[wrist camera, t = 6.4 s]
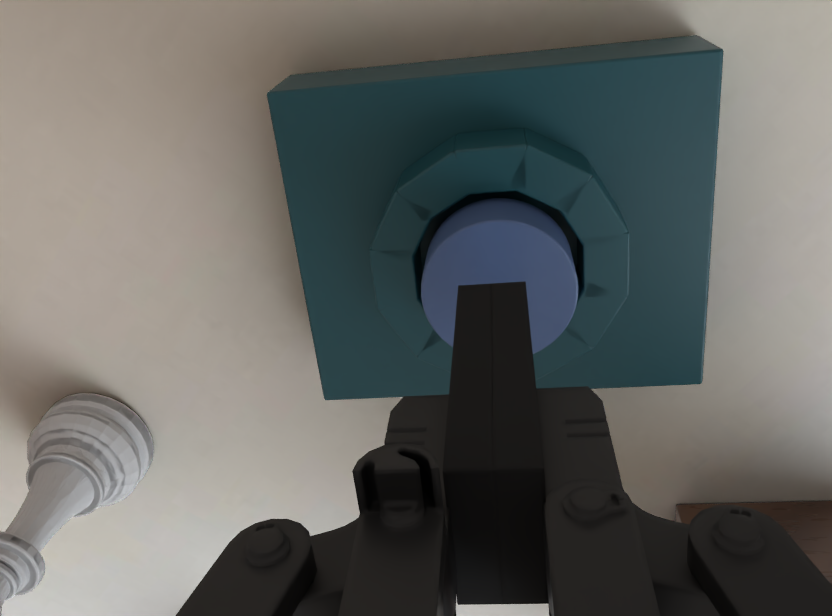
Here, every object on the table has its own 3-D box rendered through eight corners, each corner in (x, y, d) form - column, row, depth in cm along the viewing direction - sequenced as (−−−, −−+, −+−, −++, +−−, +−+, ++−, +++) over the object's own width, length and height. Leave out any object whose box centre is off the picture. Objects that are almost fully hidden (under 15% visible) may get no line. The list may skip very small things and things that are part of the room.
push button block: (699, 34, 22) (745, 60, 18) (683, 342, 26) (717, 418, 22) (288, 74, 24) (246, 106, 20) (338, 359, 28) (312, 433, 24)
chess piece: (73, 370, 29) (-111, 569, 20) (175, 432, 30) (41, 649, 21) (28, 443, 31) (-160, 655, 22) (125, 500, 32) (-18, 726, 23)
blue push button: (570, 191, 20) (577, 214, 19) (573, 327, 22) (580, 358, 20) (418, 203, 21) (412, 226, 19) (433, 334, 22) (428, 365, 21)
